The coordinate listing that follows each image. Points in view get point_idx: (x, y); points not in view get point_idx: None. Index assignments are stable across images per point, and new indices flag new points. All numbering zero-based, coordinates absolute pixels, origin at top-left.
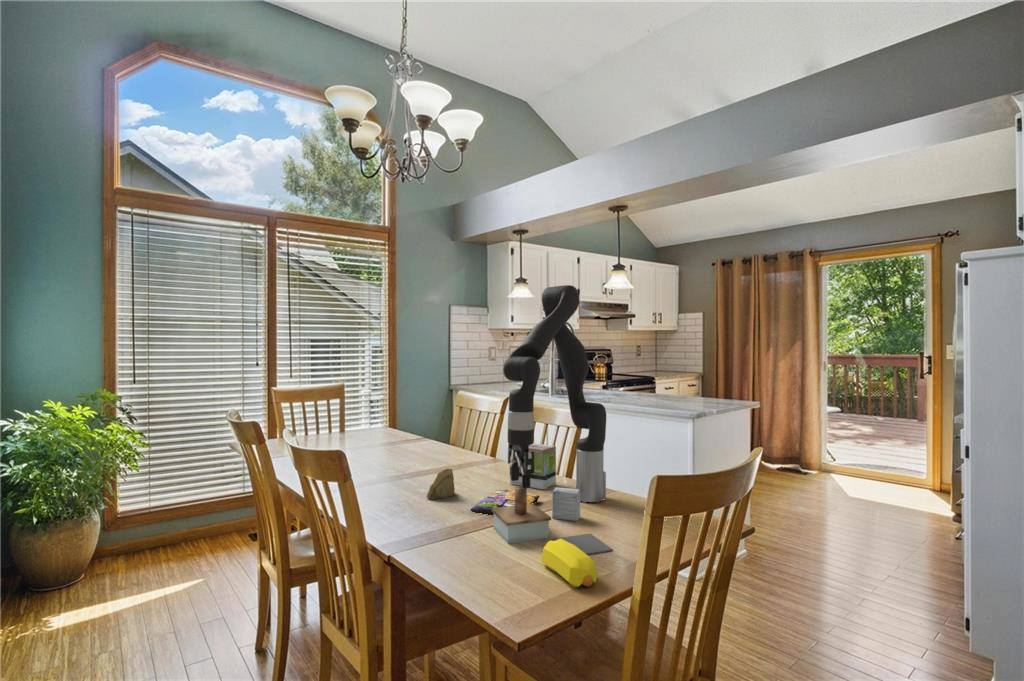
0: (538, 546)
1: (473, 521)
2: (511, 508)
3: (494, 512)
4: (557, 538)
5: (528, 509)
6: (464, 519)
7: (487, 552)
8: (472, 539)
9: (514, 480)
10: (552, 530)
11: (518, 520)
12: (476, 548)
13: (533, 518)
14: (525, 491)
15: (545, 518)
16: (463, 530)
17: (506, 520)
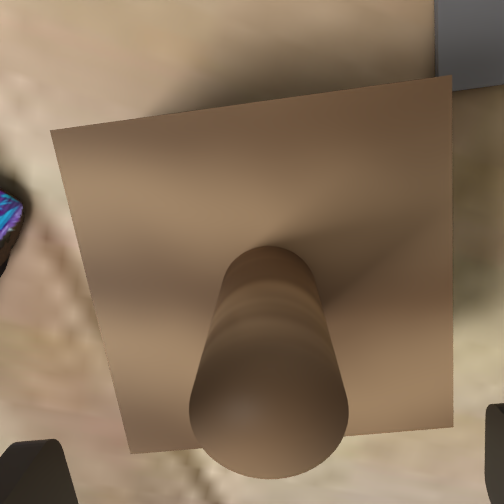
0: (492, 200)
1: (47, 437)
2: (157, 331)
3: (196, 442)
4: (445, 50)
5: (204, 211)
6: None
7: (468, 451)
8: (293, 481)
9: (71, 487)
10: (269, 30)
11: (430, 347)
12: (406, 484)
13: (428, 231)
14: (327, 354)
15: (450, 130)
16: (168, 497)
17: (404, 420)
